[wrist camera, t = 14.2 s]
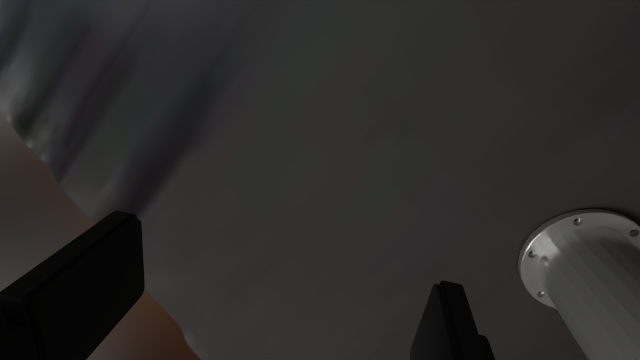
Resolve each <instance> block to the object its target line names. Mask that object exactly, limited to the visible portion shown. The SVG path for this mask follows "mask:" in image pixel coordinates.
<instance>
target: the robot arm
mask: <svg viewBox="0 0 640 360" xmlns="http://www.w3.org/2000/svg"><path fill="white" fill-rule="evenodd" d="M518 270H519V274H520V278H521V280H522V282H523V284H524V286H525V287H526V289H527V290H528V292H529V293H530V294H531V295H532V296H533V297H534V298H535V299H536V300H538V301H540V302H541V303H543V304H545V305H547V306H550V307H552V308H555V309H557V310H558V312H559V314H560V315H561V317H562V318H563V320H564V321H565V323H566V325H567V326H568V328H569V329H570V331H571V333H572V334H573V336H574V337H575V339H576V341H577V342H578V344H579V345H580V347H581V349H582V350H583V352H584V353H585V355H586V356H587V358H588V360H640V226H638V225H637V224H636V223H635V222H633V221H632V220H630V219H629V218H627V217H626V216H624V215H621V214H619V213H616V212H613V211H608V210H603V209H584V210H576V211H572V212H568V213H565V214H562V215H560V216H557V217H555V218H553V219H551V220H549V221H548V222H546V223H544V224H543V225H541V226H540V227H539V228H538V229H537V230H535V231H534V232H533V233H532V234H531V236H530V237H529V238H528V239H527V241H526V242H525V244H524V246H523V248H522V249H521V252H520V256H519V260H518ZM144 287H145V283H144V265H143V246H142V228H141V221H140V220H138V219H137V217H136V215H135V214H131V213H127V212H122V211H114V212H112V213H111V214H109V215H108V216H107V217H105V218H104V219H102V220H101V221H100V222H98V223H97V224H95V225H94V226H93V227H91V228H90V229H88V230H87V231H85V232H84V233H83V234H81V235H80V236H78V237H77V238H76V239H74V240H73V241H71V242H70V243H68V244H67V245H66V246H64V247H63V248H61V249H60V250H59V251H57V252H56V253H54V254H53V255H52V256H50V257H49V258H48V259H46V260H44V261H43V262H42V263H40V264H39V265H37V266H36V267H35V268H33V269H32V270H31V271H29V272H28V273H26V274H25V275H23V276H22V277H21V278H19V279H18V280H16V281H15V282H14V283H12V284H11V285H9V286H8V287H6V288H5V289H4V290H2V291H1V292H0V360H86V359H87V358H88V357H89V356H90V355H91V354H92V352H93V351H94V350H95V349H96V348H97V347H98V345H99V344H100V343H101V342H102V341H103V340H104V339H105V337H106V336H107V335H108V334H109V333H110V332H111V330H112V329H113V328H114V327H115V326H116V325H117V324H118V322H119V321H120V320H121V319H122V318H123V317H124V316H125V314H126V313H127V312H128V311H129V310H130V309H131V308H132V306H133V305H134V304H135V303H136V302H137V301H138V299H139V298H140V297H141V296H142V294H143V291H144ZM410 360H495V358H494V355H493V352H492V349H491V347H490V344H489V342H488V339H487V338H486V337H485V336H483V335H479V334H478V331H477V328H476V325H475V322H474V319H473V316H472V313H471V310H470V307H469V303H468V300H467V297H466V294H465V291H464V288H463V286H462V285H461V284H457V283H452V282H448V281H441V282H440V284H439V285H438V284H434V285H433V287H432V290H431V293H430V296H429V299H428V302H427V304H426V307H425V310H424V313H423V316H422V319H421V321H420V324H419V327H418V330H417V333H416V336H415V338H414V341H413V344H412V347H411V352H410Z"/></svg>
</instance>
